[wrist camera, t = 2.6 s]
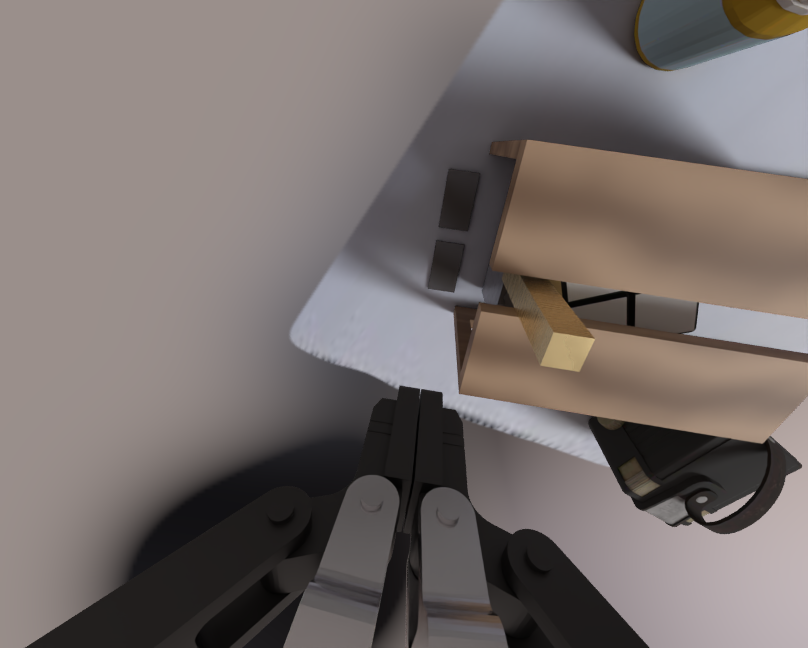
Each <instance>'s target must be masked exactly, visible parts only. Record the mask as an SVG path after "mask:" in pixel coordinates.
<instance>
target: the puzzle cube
mask: <svg viewBox="0 0 808 648" xmlns="http://www.w3.org/2000/svg"><path fill="white" fill-rule="evenodd" d="M548 280H549V281H550V282H551V284H552V285H553V286H554V287H555V289H556V290H557V291H558V292H559V294H560V295H561V296H562V297H563V299H564V300H565V301H566V303H567V304H568V305H569V306H570V308H571V309H572V310H573V311H574V313H575V314H576V315H577V316H578V318H582V319H588V320H595V321H601V322H608V323H614V324H620V325H627V326H633V327H640V328H646V329H652V330H659V331H665V332H672V333H678V334H682V333H688V332H692V331H694V330H695V329H696V324H697V315H698V306H699V302H693V301H687V300H680V299H674V298H667V297H661V296H654V295H648V294H641V293H635V292H628V291H622V290H615V289H609V288H602V287H596V286H589V285H582V284H576V283H569V282H563V281H556V280H550V279H548Z"/></svg>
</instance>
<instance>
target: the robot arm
mask: <svg viewBox="0 0 808 648" xmlns="http://www.w3.org/2000/svg"><path fill="white" fill-rule="evenodd" d="M419 396H420V399H419ZM404 515H405V520H404ZM403 520H404V530H403V532H404V533H409V534H411V542H410V553H409V557H408V561H407V587H406V588H407V589H406V647H405V648H649V647H648V645H647V644H646V643H645V642H644V641H643V640H642V639H641V638H640V637H639V636H638V634H637V633H636V632H635V631H634V630H633V629H632V628H631V627H630V626H629V625H628V624H627V622H626V621H625V620H624V619H623V618H622V617H621V616H620V615H619V614H618V612H617V611H616V610H615V609H614V608H613V607H612V606H611V605H610V604H609V603H608V601H607V600H606V599H605V598H604V597H603V596H602V595H601V594H600V593H599V591H598V590H597V589H596V588H595V587H594V586H593V585H592V584H591V583H590V582H589V580H588V579H587V578H586V577H585V576H584V575H583V574H582V573H581V572H580V570H579V569H578V568H577V567H576V566H575V565H574V564H573V563H572V562H571V561H570V559H569V558H568V557H567V556H566V555H565V554H564V553H563V552H562V551H561V550H560V548H559V547H558V546H557V545H556V544H555V543H554V542H553V541H552V540H550V539H549V538H548V537H547V536H545V535H544V534H542V533H540V532H538V531H535V530H531V529H522V530H519V531H516V532H515V533H514V534H513V535H512V534H510V533H508V532H506V531H505V530H503V529H501V528H499V527H497V526H495V525H493V524H491V523H490V522H488V521H486V520H485V519H484V518H483V517H482V516H481V515H480V514H478V512H477V511H476V510H475V508H474V507H473V505H472V504H471V501H470V499H469V496H468V490H467V477H466V464H465V450H464V438H463V423H462V421H461V419H460V417H459V415H458V413H457V412H456V410H452V409H446V408H443V394H442V392H436V391H430V390H424V389H421V394H420V389H418V388H412V387H406V386H400V387H399V392H398V398H397V400H391V399H385V398H382V399H381V400H380V401H379V402H378V403H377V404H376V405H375V406H374V408H373V412H372V415H371V419H370V423H369V427H368V431H367V434H366V438H365V442H364V446H363V450H362V453H361V457H360V461H359V465H358V469H357V472H356V475H355V477H354V479H353V480H352V482H351V483H350V484H349V485H348V486H347V487H346V488H344V489H343V490H341V491H339V492H337V493H335V494H332V495H327V496H320V497H314V498H309V497H308V495H307V494H306V493H305V492H304V491H302V490H301V489H299V488H296V487H292V486H283V487H278V488H275V489H273V490H271V491H269V492H267V493H266V494H264V495H262V496H261V497H259V498H258V499H256V500H255V501H253V502H251V503H250V504H248V505H247V506H245V507H244V508H242V509H241V510H239V511H237V512H236V513H234V514H233V515H231V516H230V517H228V518H227V519H225V520H223V521H222V522H220V523H219V524H217V525H216V526H214V527H213V528H211V529H209V530H208V531H206V532H205V533H203V534H202V535H200V536H199V537H197V538H195V539H194V540H192V541H191V542H189V543H188V544H186V545H184V546H183V547H181V548H180V549H178V550H177V551H175V552H174V553H172V554H170V555H169V556H167V557H166V558H164V559H163V560H161V561H160V562H158V563H156V564H155V565H154V566H152V567H150V568H149V569H147V570H146V571H144V572H142V573H141V574H139V575H138V576H136V577H135V578H133V579H132V580H130V581H129V582H127V583H126V584H124V585H122V586H121V587H119V588H118V589H116V590H114V591H113V592H111V593H110V594H108V595H107V596H105V597H103V598H102V599H100V600H99V601H97V602H96V603H94V604H93V605H91V606H89V607H88V608H86V609H85V610H83V611H82V612H80V613H79V614H77V615H75V616H74V617H72V618H71V619H69V620H68V621H66V622H64V623H63V624H61V625H60V626H59V627H57V628H55V629H54V630H52V631H50V632H49V633H47V634H46V635H44V636H43V637H41V638H39V639H38V640H36V641H35V642H33V643H32V644H30V645H29V646H27V647H25V648H242V647H243V646H244V645H246V644H247V643H248V642H249V641H250V640H251V639H252V638H253V637H254V636H255V635H256V634H258V633H259V632H260V631H261V630H262V629H263V628H264V627H265V626H266V625H267V624H268V623H269V622H270V621H272V620H273V619H274V618H275V617H276V616H277V615H278V614H279V613H280V612H281V611H282V610H284V609H285V608H286V607H287V606H288V605H289V604H290V603H291V602H292V601H293V600H294V599H296V598H297V596H299V595H300V594H301V593H302V592H303V591H304V590H305V589H306V590H305V592H304V595H303V597H302V599H301V602H300V605H299V607H298V610H297V613H296V615H295V618H294V621H293V623H292V626H291V629H290V631H289V634H288V637H287V639H286V642H285V645H284V648H371V645H372V640H373V635H374V630H375V625H376V619H377V615H378V610H379V605H380V600H381V595H382V590H383V585H384V579H385V575H386V570H387V565H388V562H389V561H390V558H391V556H392V551H393V546H394V541H395V536H396V531H397V532H401V529H402V525H403Z"/></svg>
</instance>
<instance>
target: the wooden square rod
mask: <svg viewBox="0 0 808 648" xmlns="http://www.w3.org/2000/svg"><path fill="white" fill-rule="evenodd" d="M507 194H508V193H507ZM506 198H507V197H506ZM501 217H502V216H501ZM495 240H496V239H495ZM489 263H490V262H489ZM482 293H483V297H484V301H485V303H486V304H493V305H499V306H505V307H512V308H515V310H516V312H517V314H518V317H519V319H520V321H521V323H522V326H523V328H524V330H525V332H526V335H527V337H528V339H529V341H530V344H531V346H532V348H533V350H534V353H535V355H536V357H537V359H538V362H539V364H540V366H546V367H552V368H558V369H565V370H571V371H577V372H580V370H581V367H582V365H583V363H584V361H585V359H586V357H587V355H588V353H589V351H590V349H591V347H592V345H593V343H594V340H595V338H594V337H593V335H592V334H591V333H590V332H589V330H588V329H587V328H586V327H585V325H584V324H583V323H582V322H581V320H580V319H579V318H578V316H577V315H576V314H575V313H574V311H573V310H572V309H571V308H570V306H569V305H568V304H567V303H566V301H565V300H564V299H563V297H562V296H561V295H560V294H559V292H558V291H557V290H556V289H555V287H554V286H553V285H552V284H551V282H550V281H549V280H548V279H543V278H537V277H530V276H524V275H517V274H511V273H504V272H498V271H492V269H491V266H490V264H489V266H488V270H487V274H486V278H485V282H484V285H483V289H482Z"/></svg>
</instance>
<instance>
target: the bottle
mask: <svg viewBox="0 0 808 648" xmlns="http://www.w3.org/2000/svg"><path fill="white" fill-rule="evenodd" d="M806 28H808V0H642V1H641V4H640V7H639V9H638V12H637V16H636V20H635V30H634V38H635V43H636V48H637V51H638V53H639V55H640V56H641V58H642V59H643V61H644V62H645V63H646V64H647V65H649V66H651V67H652V68H654V69H656V70H662V71H673V70H678V69H682V68H686V67H690V66H693V65H696V64H699V63H703V62H706V61H709V60H712V59H715V58H718V57H721V56H725V55H728V54H731V53H734V52H737V51H740V50H744V49H747V48H750V47H753V46H756V45H759V44H762V43H766V42H769V41H772V40H775V39H778V38H781V37H785V36H788V35H790V34H793V33H795V32H798V31H801V30H804V29H806Z"/></svg>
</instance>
